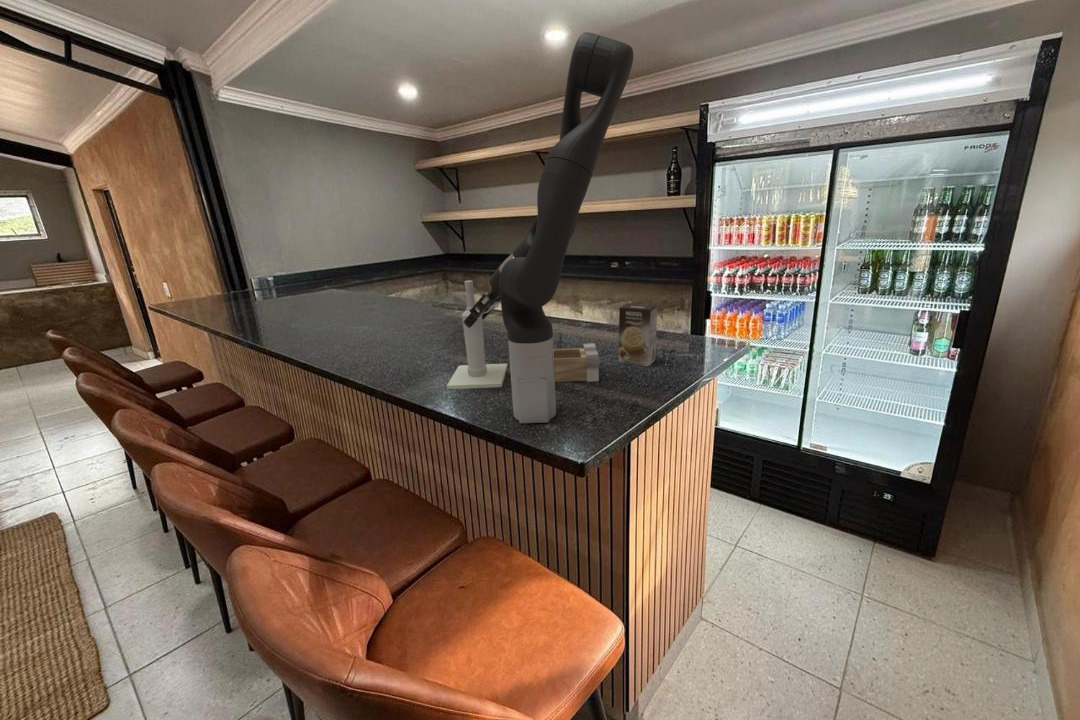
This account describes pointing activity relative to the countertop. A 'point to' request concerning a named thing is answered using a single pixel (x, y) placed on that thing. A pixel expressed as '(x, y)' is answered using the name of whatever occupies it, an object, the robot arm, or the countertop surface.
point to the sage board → (489, 380)
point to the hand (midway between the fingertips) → (473, 321)
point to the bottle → (474, 338)
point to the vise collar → (576, 364)
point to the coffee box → (637, 334)
